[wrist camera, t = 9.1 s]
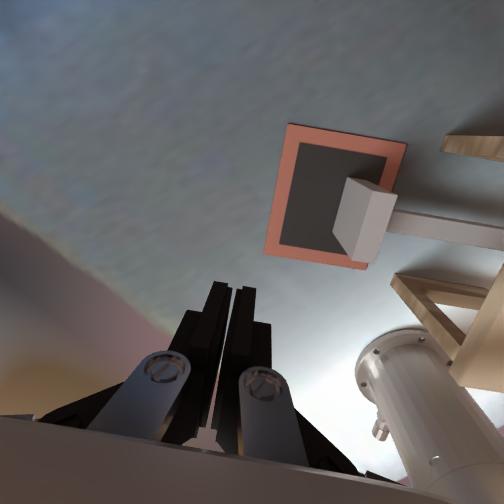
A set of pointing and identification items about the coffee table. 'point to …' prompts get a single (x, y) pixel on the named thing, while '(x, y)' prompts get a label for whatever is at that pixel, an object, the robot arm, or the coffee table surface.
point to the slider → (398, 223)
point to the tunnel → (464, 300)
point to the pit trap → (323, 190)
